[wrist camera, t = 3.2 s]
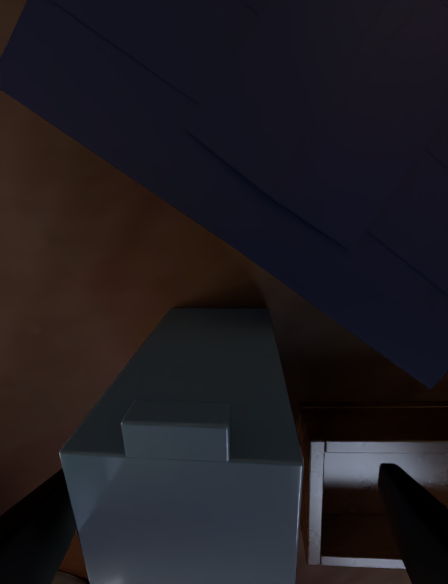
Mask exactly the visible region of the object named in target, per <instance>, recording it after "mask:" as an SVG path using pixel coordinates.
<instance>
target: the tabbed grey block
mask: <svg viewBox="0 0 448 584" xmlns="http://www.w3.org/2000/svg"><path fill="white" fill-rule="evenodd" d="M59 456H60V460H61V465H62V469H63V473H64V477H65V481H66V486H67V490H68V494H69V498H70V503H71V507H72V511H73V515H74V520H75V524H76V528H77V532H78V536H79V541H80V545H81V549H82V553H83V558H84V562H85V566H86V570H87V575H88V579H89V583H90V584H296V570H297V556H298V542H299V528H300V514H301V500H302V486H303V473H304V461H303V457H302V452H301V448H300V443H299V439H298V435H297V430H296V426H295V422H294V417H293V413H292V409H291V404H290V400H289V395H288V391H287V387H286V382H285V378H284V374H283V369H282V365H281V361H280V356H279V352H278V347H277V343H276V339H275V334H274V330H273V326H272V321H271V317H270V313H269V309H268V308H170V310H169V311H168V312H167V314H166V315H165V316H164V317H163V319H162V320H161V321H160V323H159V324H158V325H157V326H156V328H155V329H154V330H153V332H152V333H151V334H150V335H149V337H148V338H147V339H146V341H145V342H144V343H143V344H142V346H141V347H140V348H139V350H138V351H137V352H136V353H135V355H134V356H133V357H132V359H131V360H130V361H129V362H128V364H127V365H126V366H125V368H124V369H123V370H122V371H121V373H120V374H119V375H118V377H117V378H116V379H115V380H114V382H113V383H112V384H111V386H110V387H109V388H108V389H107V391H106V392H105V393H104V395H103V396H102V397H101V398H100V400H99V401H98V402H97V404H96V405H95V406H94V407H93V409H92V410H91V411H90V413H89V414H88V415H87V416H86V418H85V419H84V420H83V422H82V423H81V424H80V425H79V427H78V428H77V429H76V430H75V432H74V433H73V434H72V436H71V437H70V438H69V439H68V441H67V442H66V443H65V445H64V446H63V447H62V448H61V450H60V452H59Z"/></svg>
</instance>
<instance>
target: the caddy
mask: <svg viewBox="0 0 448 584" xmlns="http://www.w3.org/2000/svg"><path fill="white" fill-rule="evenodd" d="M299 443H300V448H301V452H302V457H303V461H304V473H303V486H302V500H301V514H300V526H301V532H302V537H303V543H304V549H305V555H306V561H307V564H314V565H320V564H321V565H329V566H352V567H374V568H396V569H406V568H405V566H404V564H403V561H402V559H401V556H400V553H399V551H398V548H397V545H396V542H395V539H394V536H393V533H392V530H391V527H390V524H389V521H388V519H387V516H386V513H385V510H384V507H383V504H382V501H381V498H380V495H379V492H378V475H379V467H380V464H381V463H394V464H396V465H398V466H399V467H400V468H402V469H403V470H404V471H405V472H406V473H407V474H409V475H410V476H411V477H412V478H413V479H414V480H416V481H417V482H418V483H419V484H420V485H421V486H423V487H424V488H425V489H426V490H427V491H428V492H430V493H431V494H432V495H433V496H434V497H435V498H437V499H438V500H439V501H440V502H441V503H442V504H444V505H445V506H446V507H447V508H448V401H425V402H300V403H299Z"/></svg>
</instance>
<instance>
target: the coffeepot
mask: <svg viewBox="0 0 448 584" xmlns="http://www.w3.org/2000/svg"><path fill="white" fill-rule="evenodd" d="M52 584H87V583H86V582H84V581H83V580H81V579H79V578H77V577H75V576H73V575H70V574H68V573H64V572H61V571H57V574H56V576H55V578H54V580H53V582H52Z"/></svg>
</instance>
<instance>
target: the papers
mask: <svg viewBox="0 0 448 584" xmlns="http://www.w3.org/2000/svg"><path fill="white" fill-rule="evenodd" d="M0 89H1V90H2V91H4V92H5V93H7V94H8V95H10V96H11V97H13V98H14V99H16V100H17V101H18V102H20V103H21V104H23V105H24V106H26V107H27V108H29V109H30V110H32V111H33V112H35V113H36V114H38V115H39V116H41V117H42V118H44V119H45V120H46V121H48V122H49V123H51V124H52V125H54V126H55V127H57V128H58V129H60V130H61V131H63V132H64V133H66V134H67V135H69V136H70V137H72V138H73V139H75V140H76V141H77V142H79V143H80V144H82V145H83V146H85V147H86V148H88V149H89V150H91V151H92V152H94V153H95V154H97V155H98V156H100V157H101V158H103V159H104V160H105V161H107V162H108V163H110V164H111V165H113V166H114V167H116V168H117V169H119V170H120V171H122V172H123V173H125V174H126V175H128V176H129V177H131V178H132V179H134V180H135V181H136V182H138V183H139V184H141V185H142V186H144V187H145V188H147V189H148V190H150V191H151V192H153V193H154V194H156V195H157V196H159V197H160V198H162V199H163V200H164V201H166V202H167V203H169V204H170V205H172V206H173V207H175V208H176V209H178V210H179V211H181V212H182V213H184V214H185V215H187V216H188V217H190V218H191V219H193V220H194V221H195V222H197V223H198V224H200V225H201V226H203V227H204V228H206V229H207V230H209V231H210V232H212V233H213V234H215V235H216V236H218V237H219V238H221V239H222V240H223V241H225V242H226V243H228V244H229V245H231V246H232V247H234V248H235V249H237V250H238V251H239V252H241V253H242V254H243V255H245V256H246V257H248V258H249V259H250V260H252V261H253V262H255V263H256V264H257V265H259V266H260V267H261V268H263V269H264V270H266V271H267V272H268V273H270V274H271V275H272V276H274V277H275V278H277V279H278V280H279V281H281V282H282V283H284V284H285V285H286V286H288V287H289V288H290V289H292V290H293V291H295V292H296V293H297V294H299V295H300V296H302V297H303V298H304V299H306V300H307V301H308V302H310V303H311V304H313V305H314V306H315V307H317V308H318V309H320V310H321V311H322V312H324V313H325V314H326V315H328V316H329V317H331V318H332V319H333V320H335V321H336V322H337V323H339V324H340V325H342V326H343V327H344V328H346V329H347V330H349V331H350V332H351V333H353V334H354V335H355V336H357V337H358V338H360V339H361V340H362V341H364V342H365V343H367V344H368V345H369V346H371V347H372V348H373V349H375V350H376V351H378V352H379V353H380V354H382V355H383V356H385V357H386V358H387V359H389V360H390V361H391V362H393V363H394V364H396V365H397V366H398V367H400V368H401V369H402V370H404V371H405V372H407V373H408V374H409V375H411V376H412V377H414V378H415V379H416V380H418V381H419V382H420V383H422V384H423V385H425V386H426V387H427V388H429V389H430V390H431V389H432V388H433V387H434V386H435V385H436V384H437V382H438V381H439V380H440V379H441V378H442V377H443V376H444V375H445V374H446V373H447V372H448V0H27V2H26V4H25V7H24V9H23V11H22V13H21V15H20V17H19V20H18V22H17V24H16V26H15V28H14V31H13V33H12V35H11V37H10V39H9V41H8V44H7V46H6V48H5V50H4V52H3V54H2V57H1V59H0Z"/></svg>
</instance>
